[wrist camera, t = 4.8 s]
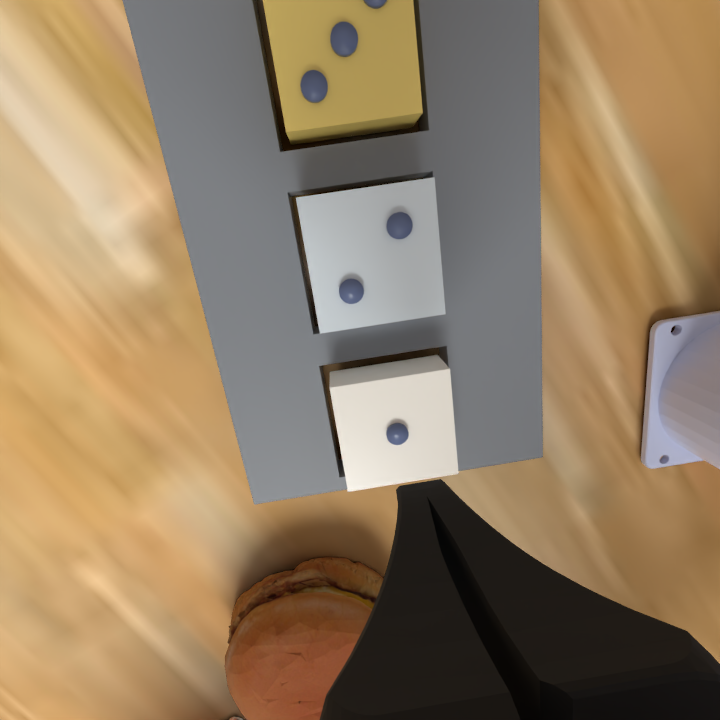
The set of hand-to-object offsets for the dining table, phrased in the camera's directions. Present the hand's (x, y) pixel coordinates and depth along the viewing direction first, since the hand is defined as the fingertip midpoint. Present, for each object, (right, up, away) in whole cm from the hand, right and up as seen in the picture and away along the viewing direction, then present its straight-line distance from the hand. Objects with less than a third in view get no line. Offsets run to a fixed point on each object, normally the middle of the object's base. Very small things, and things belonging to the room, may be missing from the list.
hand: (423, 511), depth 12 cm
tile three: (-3, +16, +3) cm, 16 cm away
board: (-2, +9, +6) cm, 11 cm away
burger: (-4, -10, +12) cm, 17 cm away
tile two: (-2, +9, +5) cm, 10 cm away
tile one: (0, +2, +7) cm, 7 cm away
